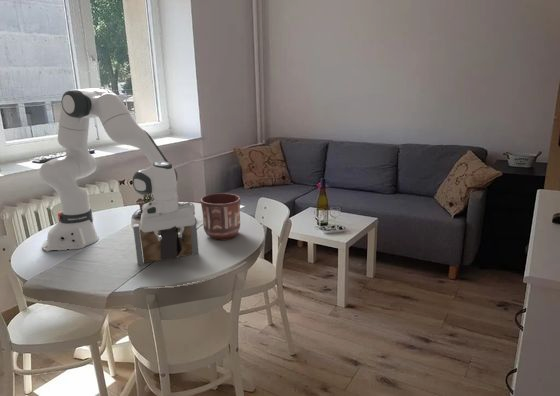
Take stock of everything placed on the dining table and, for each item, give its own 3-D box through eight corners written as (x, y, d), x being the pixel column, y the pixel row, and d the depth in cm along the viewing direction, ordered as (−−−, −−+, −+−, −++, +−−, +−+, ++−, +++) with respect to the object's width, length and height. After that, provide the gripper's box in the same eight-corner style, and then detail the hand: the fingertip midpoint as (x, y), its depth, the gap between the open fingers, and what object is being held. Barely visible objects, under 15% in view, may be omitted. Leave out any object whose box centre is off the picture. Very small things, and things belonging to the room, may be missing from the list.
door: (144, 264, 166) (140, 231, 162) (143, 261, 169) (139, 228, 165) (193, 256, 173) (191, 223, 169) (192, 252, 176) (189, 221, 172)
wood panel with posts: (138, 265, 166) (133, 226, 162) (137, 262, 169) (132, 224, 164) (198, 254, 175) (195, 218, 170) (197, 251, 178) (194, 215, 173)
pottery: (206, 245, 184) (203, 205, 179) (200, 231, 200) (197, 194, 195) (245, 240, 189) (244, 201, 184) (236, 227, 205) (235, 191, 200)
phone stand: (176, 259, 161) (173, 229, 158) (160, 259, 161) (157, 229, 158) (182, 249, 170) (179, 221, 166) (167, 249, 170) (164, 221, 166)
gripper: (192, 199, 166) (195, 232, 170) (138, 206, 159) (142, 240, 163) (195, 203, 161) (198, 237, 165) (139, 210, 153) (143, 246, 157)
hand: (170, 239), depth 164 cm, fingers closed on phone stand, 6 cm apart
